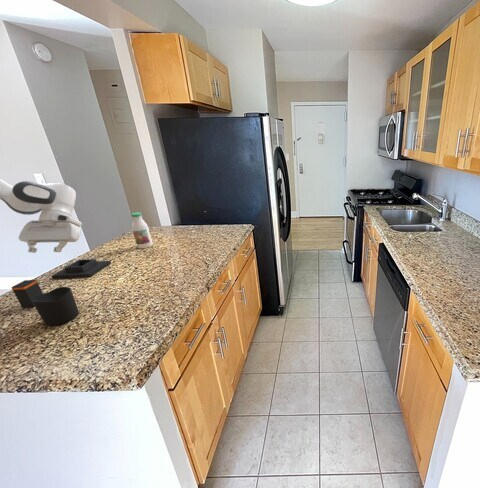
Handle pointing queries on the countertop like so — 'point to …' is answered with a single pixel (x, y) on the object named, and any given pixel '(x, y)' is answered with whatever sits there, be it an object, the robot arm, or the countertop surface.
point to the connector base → (81, 269)
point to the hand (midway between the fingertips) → (44, 252)
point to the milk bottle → (141, 231)
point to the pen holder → (56, 306)
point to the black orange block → (27, 292)
